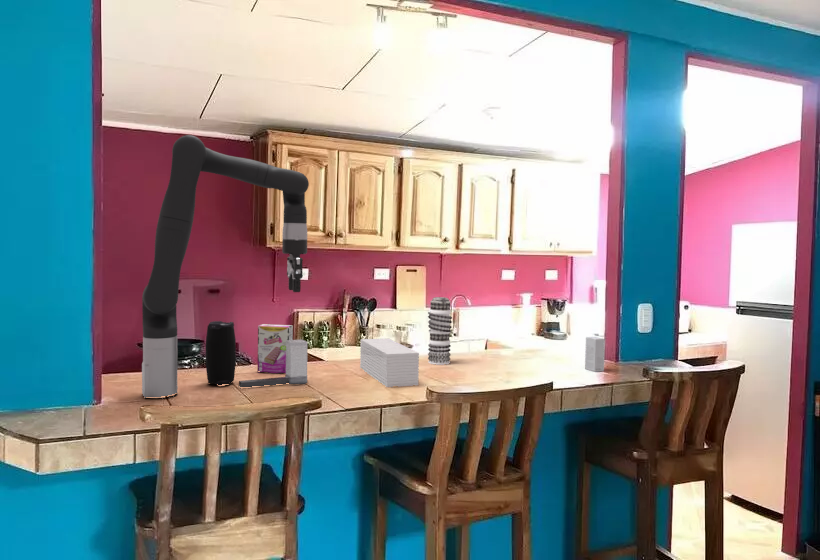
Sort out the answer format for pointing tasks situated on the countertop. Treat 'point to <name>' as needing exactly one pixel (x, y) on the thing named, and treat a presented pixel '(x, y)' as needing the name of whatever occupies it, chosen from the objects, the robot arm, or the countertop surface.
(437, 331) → the decorative candle
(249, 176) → the robot arm
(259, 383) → the ratchet
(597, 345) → the skincare box
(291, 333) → the candy bar box
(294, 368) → the brushed aluminum block
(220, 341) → the portable speaker
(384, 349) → the stack of papers
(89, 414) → the countertop surface
